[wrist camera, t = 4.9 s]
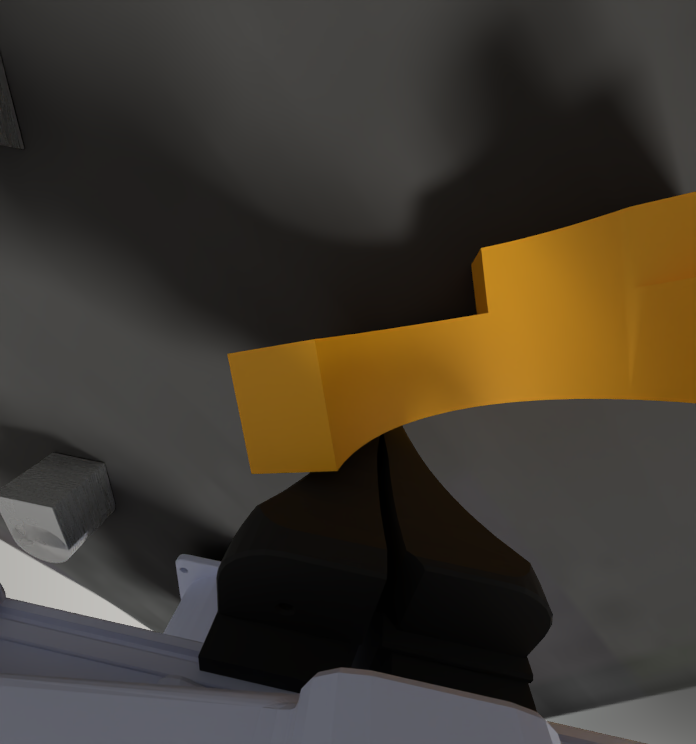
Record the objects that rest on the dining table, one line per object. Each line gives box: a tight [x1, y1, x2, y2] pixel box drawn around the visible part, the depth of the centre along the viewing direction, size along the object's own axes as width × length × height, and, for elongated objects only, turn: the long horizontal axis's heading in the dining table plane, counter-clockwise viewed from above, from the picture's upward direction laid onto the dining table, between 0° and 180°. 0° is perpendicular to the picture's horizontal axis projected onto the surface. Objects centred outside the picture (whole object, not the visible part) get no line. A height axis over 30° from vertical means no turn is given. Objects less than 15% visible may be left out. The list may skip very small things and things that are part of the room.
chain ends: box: [0, 56, 115, 563], centre depth 13 cm, size 24×3×3 cm, turn 171°
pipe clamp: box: [227, 192, 696, 474], centre depth 8 cm, size 12×4×6 cm, turn 104°
